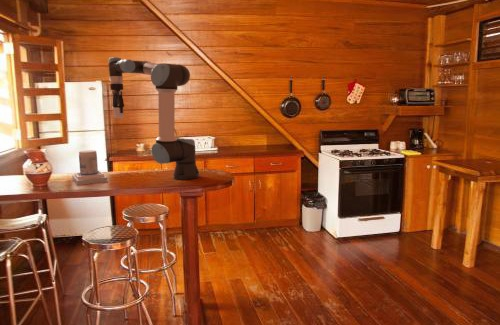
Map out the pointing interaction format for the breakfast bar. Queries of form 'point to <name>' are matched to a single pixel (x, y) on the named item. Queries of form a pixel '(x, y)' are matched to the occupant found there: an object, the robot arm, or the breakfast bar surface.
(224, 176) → the breakfast bar surface
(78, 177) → the base plate
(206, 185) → the breakfast bar surface
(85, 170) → the supplement tub
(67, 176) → the breakfast bar surface
